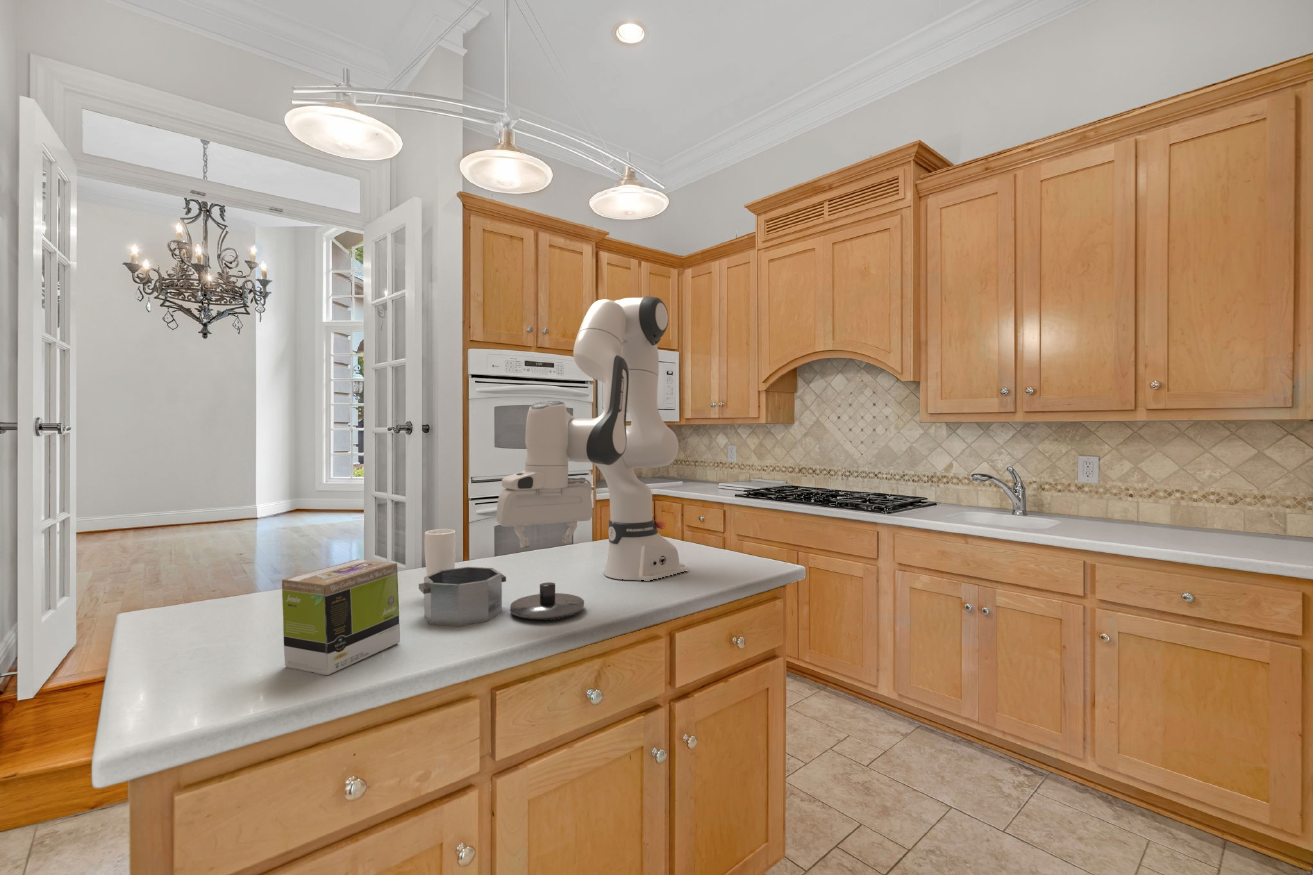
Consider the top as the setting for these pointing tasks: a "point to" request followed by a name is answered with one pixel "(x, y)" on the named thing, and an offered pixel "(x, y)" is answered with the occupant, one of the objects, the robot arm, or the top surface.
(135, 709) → the top surface
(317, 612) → the tea box
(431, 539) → the drinking glass
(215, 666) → the top surface
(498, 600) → the pot
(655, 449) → the robot arm
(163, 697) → the top surface
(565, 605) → the lid
